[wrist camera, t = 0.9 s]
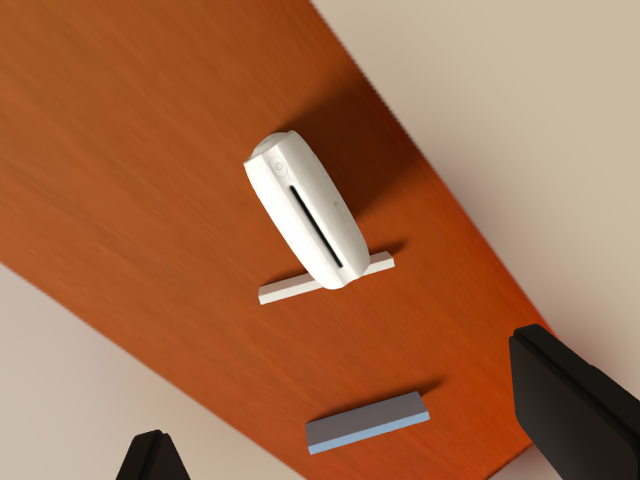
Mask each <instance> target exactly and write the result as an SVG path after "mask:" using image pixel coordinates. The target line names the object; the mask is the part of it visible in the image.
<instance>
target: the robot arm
mask: <svg viewBox="0 0 640 480" xmlns="http://www.w3.org/2000/svg"><path fill="white" fill-rule="evenodd" d="M509 348H510V359H511V371H512V382H513V393H514V404H515V414H516V417H517V420H518V422H519V424H520V426H521V427H522V429H523V430H524V431H525V432H526V434H527V435H528V436H529V437H530V439H531V440H532V441H533V442H534V444H535V445H536V446H537V448H538V449H539V450H540V451H541V453H542V454H543V455H544V456H545V458H546V459H547V460H548V461H549V463H550V464H551V465H552V466H553V468H554V469H555V470H556V471H557V473H558V474H559V475H560V476H561V478H562V479H563V480H640V401H639V400H638V399H636V398H635V397H634V396H632V395H631V394H630V393H629V392H628V391H626V390H625V389H624V388H622V387H621V386H620V385H618V384H617V383H616V382H615V381H613V380H612V379H611V378H610V377H608V376H607V375H606V374H604V373H603V372H602V371H601V370H599V369H598V368H596V367H595V366H593V365H590V364H588V363H587V362H586V361H585V360H583V359H582V358H581V357H579V356H578V355H577V354H576V353H574V352H573V351H572V350H571V349H569V348H568V347H567V346H566V345H564V344H563V343H562V342H561V341H559V340H558V339H557V338H555V337H554V336H553V335H552V334H550V333H549V332H548V331H547V330H545V329H544V328H543V327H542V326H540V325H538V324H532V325H528V326H525V327H521V328H518V329H515V330H514V332H513V336H511V337H509ZM116 480H191V479H190V477H189V475H188V473H187V471H186V469H185V467H184V465H183V463H182V460H181V458H180V456H179V454H178V452H177V450H176V448H175V446H174V444H173V442H172V439H171V437H170V436H169V435H168V434H167V433H165V434H163V433H162V431H160V430H154V431H150V432H147V433H143V434H139V435H137V436H135V437H134V439H133V440H132V442H131V445H130V447H129V450H128V452H127V454H126V457H125V459H124V461H123V464H122V466H121V468H120V471H119V473H118V475H117V478H116Z"/></svg>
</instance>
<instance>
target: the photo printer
mask: <svg viewBox="0 0 640 480" xmlns="http://www.w3.org/2000/svg"><path fill="white" fill-rule="evenodd" d="M244 166H245V169H246V172H247V175H248V178H249V180H250V182H251V184H252V186H253V188H254V190H255V192H256V193H257V195H258V197H259V199H260V200H261V202H262V204H263V205H264V207H265V209H266V210H267V212H268V214H269V215H270V217H271V218H272V220H273V222H274V223H275V225H276V226H277V228H278V229H279V231H280V232H281V234H282V235H283V237H284V238H285V240H286V241H287V243H288V244H289V246H290V247H291V249H292V250H293V252H294V253H295V255H296V256H297V257H298V259H299V260H300V261H301V263H302V264H303V265H304V267H305V268H306V269H307V271H308V272H309V273H310V274H311V275H312V277H313V278H314V279H315V280H316V281H317V282H318V283H320V284H321V285H322V286H323V287H325V288H327V289H337V288H341V287H344V286H345V285H346V284H347V283H349V282H350V281H352V280H354V279H357V278H359V277H361V276H362V275H363V273H364V272H365V271H366V270H367V268H368V266H369V264H370V256H369V252H368V249H367V245H366V242H365V240H364V238H363V236H362V234H361V232H360V230H359V228H358V226H357V224H356V222H355V220H354V218H353V217H352V215H351V213H350V211H349V209H348V208H347V206H346V204H345V202H344V201H343V199H342V197H341V195H340V193H339V192H338V190H337V189H336V187H335V185H334V183H333V182H332V180H331V178H330V177H329V175H328V174H327V172H326V170H325V169H324V167H323V166H322V164H321V162H320V161H319V160H318V158H317V156H316V155H315V154H314V153H313V151H312V150H311V149H310V147H309V146H308V145H307V143H306V142H305V141H304V140H303V139H302V137H301V136H300V135H299V134H298V133H296V132H295V131H292V130H290V131H289V132H287V133H284V132H279V133H274V134H271V135H269V136H268V137H266V138H265V139H264V140H262V141H261V142H260V143H259V144H258V145H257V147H256V148H255V150H254V151H253V153H252V155H251V156H250V157H249V158H248V159H247V160H246V161H245V162H244Z"/></svg>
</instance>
